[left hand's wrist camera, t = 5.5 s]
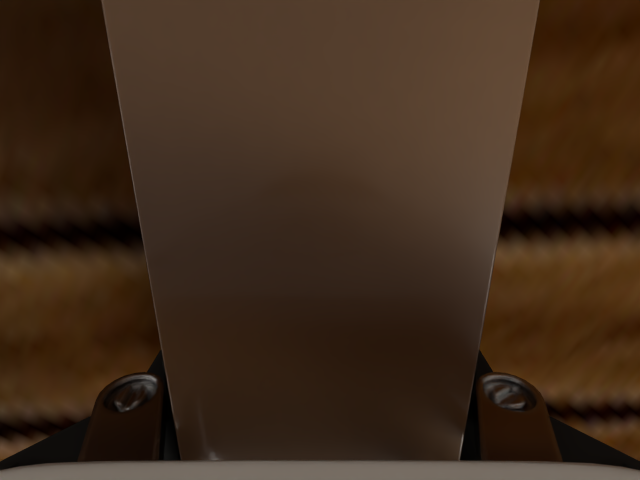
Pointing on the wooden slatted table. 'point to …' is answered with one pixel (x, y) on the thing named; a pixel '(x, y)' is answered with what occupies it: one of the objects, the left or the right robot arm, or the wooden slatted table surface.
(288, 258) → the beam
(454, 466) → the left robot arm
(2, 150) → the wooden slatted table surface
